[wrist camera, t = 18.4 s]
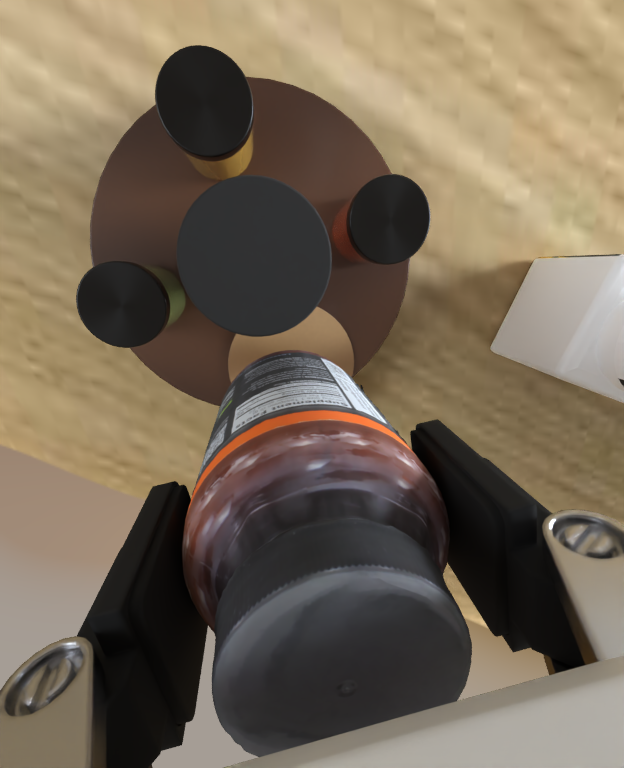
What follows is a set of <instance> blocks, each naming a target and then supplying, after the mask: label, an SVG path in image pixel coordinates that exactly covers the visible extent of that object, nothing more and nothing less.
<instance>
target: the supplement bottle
mask: <svg viewBox="0 0 624 768" xmlns="http://www.w3.org/2000/svg"><path fill="white" fill-rule="evenodd" d="M449 525H450V522H449V519H448V514H447V509H446V505H445V502H444V499H443V497H442V493H441V491H440V490H439V488H438V486H437V484H436V482H435V480H434V479H433V477H432V476H431V474H430V473H429V472H428V470H427V469H426V467H425V466H424V465H423V463H422V462H421V461H420V460H419V458H418V457H417V455H416V454H415V453H414V452H413V451H412V450H411V449H410V448H409V446H408V445H407V443H406V442H405V440H404V439H403V438H402V437H400V435H399V433H398V431H396V430H395V429H394V428H393V427H392V426H391V424H390V423H389V422H388V421H387V420H386V418H385V416H384V415H383V414H382V413H381V412H380V411H379V409H378V408H377V407H376V406H375V405H374V404H373V403H372V401H371V400H370V399H369V398H368V397H367V396H366V395H365V393H364V391H363V387H362V385H361V388H360V387H359V385H358V384H356V383H355V382H354V380H353V379H352V378H351V376H350V375H348V374H347V373H346V372H345V371H344V370H342V368H340V367H339V366H338V365H336V364H335V363H334V362H333V361H331V360H329V359H327V358H326V357H323V356H320V355H318V354H316V353H313V352H308V351H302V350H285V351H279V352H274V353H271V354H268V355H265V356H263V357H261V358H259V359H257V360H255V361H253V362H252V363H250V364H249V365H247V366H246V367H245V368H244V369H243V370H242V371H241V372H240V373H239V374H238V375H237V376H236V378H235V379H234V380H233V381H232V383H231V384H230V386H229V388H228V390H227V392H226V393H225V396H224V398H223V400H222V403H221V406H220V409H219V412H218V415H217V418H216V422H215V424H214V428H213V431H212V434H211V437H210V440H209V443H208V446H207V449H206V453H205V456H204V460H203V463H202V466H201V469H200V473H199V475H198V479H197V482H196V486H195V488H194V491H193V493H192V499H191V502H190V505H189V508H188V512H187V515H186V519H185V526H184V534H183V543H182V565H183V574H184V579H185V583H186V586H187V588H188V591H189V594H190V597H191V599H192V601H193V603H194V605H195V606H196V608H197V610H198V612H199V614H200V615H201V616H202V618H203V619H204V621H205V622H206V623H207V624H208V626H209V627H210V628H211V630H212V631H213V632H214V633H215V636H216V639H215V641H216V643H215V654H214V661H213V671H212V695H213V701H214V706H215V710H216V713H217V716H218V718H219V721H220V723H221V725H222V727H223V728H224V730H225V731H226V732H227V733H228V734H229V735H231V737H232V738H233V740H234V741H235V742H236V743H237V744H239V745H241V746H242V748H243V749H244V750H245V751H246V752H248V753H251V754H253V755H256V756H258V757H262V756H266V755H269V754H273V753H276V752H280V751H283V750H287V749H290V748H294V747H297V746H301V745H304V744H308V743H311V742H315V741H318V740H322V739H325V738H329V737H332V736H336V735H339V734H343V733H346V732H350V731H353V730H357V729H360V728H364V727H367V726H371V725H374V724H378V723H381V722H385V721H388V720H392V719H395V718H399V717H402V716H406V715H409V714H413V713H416V712H420V711H423V710H427V709H430V708H434V707H438V706H441V705H445V704H448V703H452V702H455V701H457V700H458V698H459V696H460V694H461V693H462V691H463V689H464V687H465V685H466V681H467V678H468V675H469V670H470V665H471V655H472V643H471V639H470V634H469V629H468V627H467V624H466V622H465V619H464V617H463V615H462V613H461V611H460V609H459V607H458V605H457V603H456V601H455V599H454V598H453V596H452V594H451V593H450V591H449V590H448V588H447V586H446V584H445V581H444V578H443V573H444V570H445V567H446V565H447V555H448V549H449V541H450V535H449V534H450V527H449Z"/></svg>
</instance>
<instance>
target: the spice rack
mask: <svg viewBox="0 0 624 768" xmlns="http://www.w3.org/2000/svg"><path fill="white" fill-rule="evenodd" d="M155 100H156V105H154V106H153V107H152V108H151V109H150V110H148V111H147V112H146V113H145V114H143V115H142V116H141V117H140V118H139V119H138V120H137V121H136V122H135V123H134V124H133V125H132V126H131V128H130V129H129V130H128V131H127V132H126V133H125V134H124V135H123V137H122V138H121V140H120V141H119V143H118V144H117V146H116V148H115V149H114V151H113V152H112V154H111V155H110V157H109V159H108V162H107V164H106V166H105V168H104V170H103V173H102V175H101V177H100V180H99V184H98V187H97V191H96V194H95V197H94V202H93V209H92V216H91V223H90V248H91V256H92V264H93V268H92V269H90V270H89V271H88V272H87V273H86V274H85V275H84V277H83V278H82V279H81V281H80V284H79V286H78V289H77V295H76V303H77V309H78V312H79V315H80V317H81V320H82V321H83V323H84V325H85V326H86V327H87V329H88V330H89V331H90V332H91V333H92V334H93V335H95V336H96V337H97V338H98V339H100V340H101V341H103V342H105V343H107V344H110V345H113V346H117V347H123V348H130V349H131V350H132V351H133V352H134V353H135V354H136V355H137V356H138V358H139V359H140V360H141V361H142V362H143V363H144V364H145V365H146V366H147V367H148V368H150V369H151V370H152V371H153V372H154V373H155V374H157V375H158V376H159V377H160V378H162V379H163V380H165V381H166V382H168V383H169V384H171V385H172V386H174V387H175V388H177V389H178V390H180V391H182V392H184V393H186V394H188V395H190V396H192V397H194V398H197V399H200V400H202V401H205V402H208V403H211V404H214V405H218V406H221V403H222V400H223V398H224V396H225V393H226V392H227V390H228V388H229V386H230V384H231V383H232V381H233V380H234V379H235V378H236V376H237V375H238V374H239V373H240V372H241V371H242V370H243V369H244V368H245V367H246V366H247V365H249V364H250V363H252V362H253V361H255V360H257V359H259V358H261V357H263V356H265V355H268V354H271V353H274V352H279V351H285V350H302V351H308V352H313V353H316V354H318V355H320V356H323V357H326V358H327V359H329V360H331V361H333V362H334V363H335V364H336V365H338V366H339V367H340V368H342V370H344V371H345V372H346V373H347V374H348V375H350V376H351V378H352V377H353V376H354V375H355V374H356V373H357V372H358V371H360V370H361V369H362V368H363V367H364V366H365V365H366V364H367V363H368V362H369V360H370V359H371V358H372V357H373V356H374V354H375V353H376V352H377V351H378V349H379V348H380V346H381V345H382V343H383V342H384V340H385V339H386V337H387V336H388V334H389V332H390V330H391V328H392V326H393V324H394V322H395V320H396V318H397V315H398V313H399V310H400V307H401V304H402V301H403V298H404V294H405V289H406V285H407V280H408V272H409V262H410V257H411V256H413V255H414V254H415V253H416V252H417V251H418V250H419V248H420V247H421V246H422V244H423V243H424V241H425V239H426V237H427V234H428V231H429V226H430V208H429V204H428V201H427V198H426V196H425V194H424V192H423V191H422V190H421V188H420V187H419V186H418V185H417V184H416V183H415V182H413V181H412V180H411V179H409V178H407V177H404V176H402V175H397V174H392V173H391V172H390V170H389V168H388V166H387V164H386V163H385V161H384V159H383V157H382V155H381V154H380V153H379V151H378V150H377V149H376V147H375V146H374V145H373V143H372V142H371V140H370V139H369V138H368V137H367V136H366V134H365V133H364V132H363V131H362V130H361V129H360V128H359V127H358V126H357V125H356V124H355V123H354V122H353V121H352V120H351V119H350V118H348V117H347V116H346V115H345V114H343V113H342V112H341V111H340V110H338V109H337V108H336V107H335V106H333V105H331V104H330V103H328V102H326V101H325V100H323V99H321V98H320V97H318V96H316V95H315V94H313V93H310V92H308V91H305V90H303V89H301V88H298V87H296V86H293V85H290V84H286V83H282V82H278V81H275V80H271V79H263V78H253V77H245V75H244V73H243V72H242V70H241V69H240V68H239V66H238V65H237V64H236V63H235V62H234V61H233V60H232V59H231V58H230V57H228V56H227V55H226V54H224V53H223V52H221V51H219V50H217V49H214V48H212V47H208V46H201V45H196V46H189V47H185V48H183V49H180V50H179V51H177V52H175V53H174V54H173V55H172V56H170V57H169V58H168V60H167V61H166V62H165V63H164V65H163V66H162V68H161V70H160V73H159V75H158V78H157V82H156V88H155Z"/></svg>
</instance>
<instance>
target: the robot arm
mask: <svg viewBox="0 0 624 768" xmlns="http://www.w3.org/2000/svg"><path fill="white" fill-rule="evenodd" d="M410 435H411V444H412V451H413V452H414V453H415V454H416V455H417V457H418V458H419V460H420V461H421V462H422V463H423V465H424V466H425V467H426V469H427V470H428V472H429V473H430V474H431V476H432V477H433V479H434V480H435V482H436V484H437V486H438V488H439V490H440V491H441V493H442V497H443V499H444V502H445V505H446V509H447V514H448V519H449V522H450V525H449V527H450V534H449V535H450V541H449V549H448V555H447V562H448V564H449V566H450V567H451V569H452V570H453V572H454V574H455V575H456V577H457V578H458V580H459V581H460V583H461V585H462V586H463V588H464V589H465V591H466V593H467V594H468V596H469V597H470V599H471V600H472V602H473V604H474V605H475V607H476V608H477V610H478V612H479V613H480V615H481V616H482V618H483V620H484V621H485V623H486V624H487V626H488V627H489V629H490V631H491V632H492V633H493V634H494V635H495V636H501V635H502V636H503V637H504V639H505V641H506V642H507V644H508V645H509V647H510V648H511V650H512V651H513V652H516V651H520V650H523V649H527V648H532V650H535V651H537V652H539V653H542V654H544V659H545V663H546V666H547V669H548V672H549V676H545V677H542V678H538V679H534V680H531V681H528V682H524V683H520V684H517V685H513V686H509V687H506V688H502V689H499V690H495V691H491V692H488V693H484V694H480V695H477V696H473V697H470V698H466V699H463V700H459V701H455V702H452V703H448V704H445V705H441V706H438V707H434V708H430V709H427V710H423V711H420V712H416V713H413V714H409V715H406V716H402V717H399V718H395V719H392V720H388V721H385V722H381V723H378V724H374V725H371V726H367V727H364V728H360V729H357V730H353V731H350V732H346V733H343V734H339V735H336V736H332V737H329V738H325V739H322V740H318V741H315V742H311V743H308V744H304V745H301V746H297V747H294V748H290V749H287V750H283V751H280V752H276V753H273V754H269V755H266V756H262V757H259V758H255V759H252V760H248V761H245V762H242V763H238V764H235V765H231V766H228V767H224V768H624V525H623V524H621V523H620V522H618V521H617V520H615V519H612V518H610V517H607V516H605V515H603V514H599V513H595V512H591V511H586V510H574V509H573V510H562V511H559V512H556V513H553V514H552V513H551V512H549V511H548V510H547V509H546V508H545V507H543V506H542V505H541V504H540V503H539V502H538V501H536V500H535V499H534V498H533V497H532V496H531V495H529V494H528V493H527V492H526V491H525V490H523V489H522V488H521V487H520V486H519V485H518V484H516V483H515V482H514V481H513V480H512V479H510V478H509V477H508V476H507V475H506V474H505V473H503V472H502V471H501V470H500V469H499V468H497V467H496V466H495V465H494V464H493V463H492V462H490V461H489V460H488V459H486V458H482V457H481V456H480V455H479V454H478V453H476V452H475V451H474V450H473V449H472V448H471V447H469V446H468V445H467V444H466V443H465V442H464V441H463V440H461V439H460V438H459V437H458V436H457V435H456V434H454V433H453V432H452V431H451V430H450V429H449V428H447V427H446V426H445V425H444V424H443V423H442V422H440V421H439V420H432V421H428V422H424V423H420V424H417V425H416V430H413V431H411V434H410ZM190 502H191V498H190V495H189V493H188V490H187V487H186V486H185V485H181V486H179V484H178V483H177V482H176V481H174V482H170V483H166V484H161V485H157V486H153V487H152V489H151V491H150V493H149V495H148V497H147V499H146V501H145V503H144V505H143V507H142V509H141V511H140V513H139V515H138V517H137V519H136V521H135V523H134V525H133V527H132V529H131V531H130V533H129V535H128V537H127V539H126V541H125V543H124V545H123V547H122V548H121V550H120V551H119V553H118V555H117V557H116V559H115V561H114V563H113V565H112V567H111V569H110V571H109V573H108V575H107V577H106V579H105V581H104V583H103V585H102V587H101V589H100V591H99V593H98V595H97V597H96V599H95V601H94V603H93V605H92V607H91V609H90V611H89V613H88V615H87V617H86V619H85V621H84V623H83V625H82V627H81V629H80V631H79V633H78V635H77V637H76V636H75V637H70V638H65V639H62V640H59V641H57V642H54V643H52V644H50V645H48V646H47V647H45V648H43V649H42V650H40V651H38V652H37V653H35V654H34V655H33V656H32V657H30V658H29V659H28V660H27V661H26V662H24V663H23V664H22V665H21V666H20V667H19V668H18V669H17V670H16V671H15V672H14V674H13V675H12V676H11V677H10V678H9V679H8V680H7V682H6V683H5V685H4V686H3V688H2V689H1V690H0V768H152V763H153V762H154V760H155V759H156V758H157V757H158V756H159V754H160V752H161V751H162V750H166V749H169V748H173V747H176V746H180V745H182V742H183V736H184V730H185V723H186V722H190V721H192V719H193V717H194V714H195V708H196V701H197V695H198V688H199V681H200V675H201V667H202V661H203V655H204V648H205V641H206V634H207V628H208V624H207V623H206V622H205V621H204V619H203V618H202V616H201V615H200V614H199V612H198V610H197V608H196V606H195V605H194V603H193V601H192V599H191V597H190V594H189V591H188V588H187V586H186V583H185V579H184V574H183V565H182V543H183V534H184V526H185V519H186V515H187V512H188V508H189V505H190Z"/></svg>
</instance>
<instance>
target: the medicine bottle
mask: <svg viewBox="0 0 624 768" xmlns="http://www.w3.org/2000/svg"><path fill="white" fill-rule="evenodd" d="M490 349H491V351H492V352H494V353H496V354H498V355H501V356H503V357H506V358H508V359H511V360H513V361H516V362H518V363H521V364H523V365H526V366H528V367H531V368H533V369H536V370H538V371H541V372H543V373H546V374H548V375H551V376H553V377H556V378H558V379H561V380H563V381H566V382H569V383H571V384H574V385H577V386H579V387H582V388H585V389H587V390H590V391H593V392H595V393H598V394H601V395H603V396H606V397H609V398H611V399H614V400H617V401H619V402H622V403H624V255H623V254H616V255H588V256H560V257H539V258H536V259H535V260H534V261H533V263H532V265H531V267H530V269H529V271H528V273H527V275H526V277H525V279H524V281H523V283H522V285H521V287H520V289H519V291H518V293H517V295H516V297H515V299H514V301H513V303H512V305H511V307H510V309H509V311H508V313H507V315H506V317H505V319H504V321H503V323H502V325H501V327H500V329H499V331H498V333H497V335H496V337H495V339H494V341H493V343H492V345H491V348H490Z"/></svg>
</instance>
